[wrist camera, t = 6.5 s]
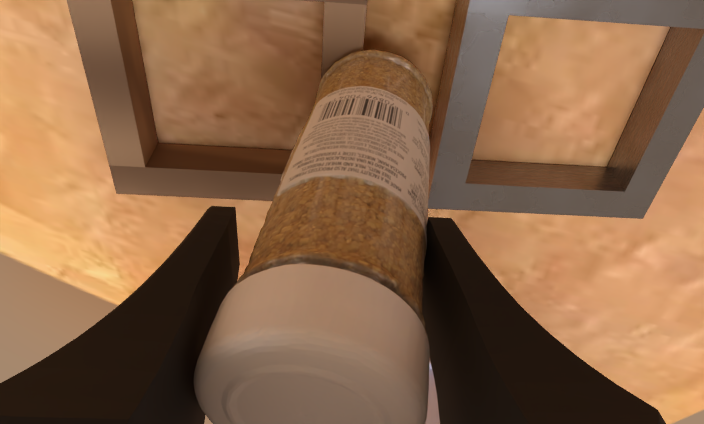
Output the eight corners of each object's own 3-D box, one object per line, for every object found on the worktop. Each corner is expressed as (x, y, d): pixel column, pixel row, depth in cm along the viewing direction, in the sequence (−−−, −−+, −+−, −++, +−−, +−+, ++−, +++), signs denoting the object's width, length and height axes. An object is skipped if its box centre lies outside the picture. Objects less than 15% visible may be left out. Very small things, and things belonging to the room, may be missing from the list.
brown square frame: (348, 179, 25) (348, 204, 24) (130, 168, 25) (116, 193, 23) (368, -55, 19) (371, -42, 17) (74, -78, 18) (49, -67, 17)
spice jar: (306, 130, 21) (173, 440, 11) (337, 26, 19) (200, 308, 8) (409, 167, 22) (378, 500, 11) (455, 70, 19) (472, 394, 8)
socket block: (624, 193, 26) (642, 218, 25) (421, 183, 26) (426, 208, 24) (734, -26, 20) (768, -11, 18) (465, -47, 19) (477, -34, 18)
